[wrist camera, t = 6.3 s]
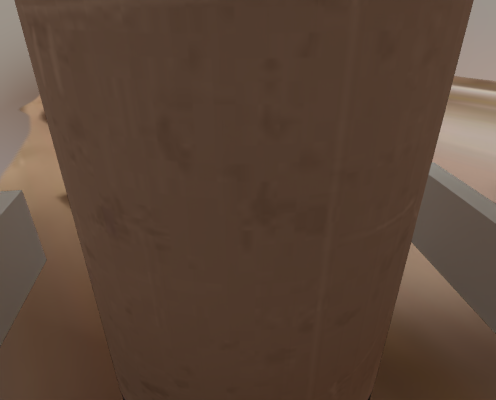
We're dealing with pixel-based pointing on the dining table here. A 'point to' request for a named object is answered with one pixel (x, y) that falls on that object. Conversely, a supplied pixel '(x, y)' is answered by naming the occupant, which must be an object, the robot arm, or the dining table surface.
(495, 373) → the dining table surface
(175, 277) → the travel mug
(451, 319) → the dining table surface
